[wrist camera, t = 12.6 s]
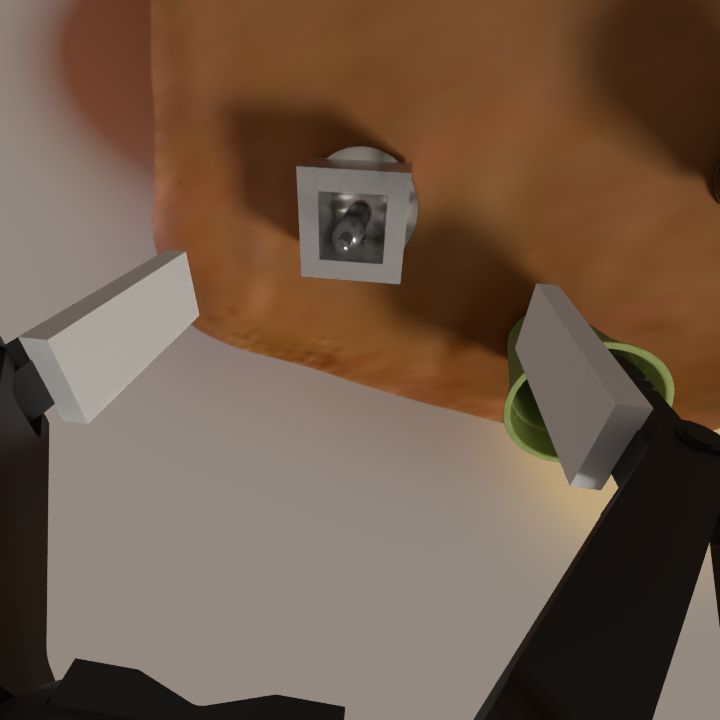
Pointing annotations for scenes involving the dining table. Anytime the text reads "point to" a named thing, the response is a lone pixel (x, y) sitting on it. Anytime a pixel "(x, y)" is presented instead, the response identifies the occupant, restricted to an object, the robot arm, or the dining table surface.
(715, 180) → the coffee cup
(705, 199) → the dining table surface
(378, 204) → the post
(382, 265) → the collar
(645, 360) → the plant pot
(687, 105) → the dining table surface
